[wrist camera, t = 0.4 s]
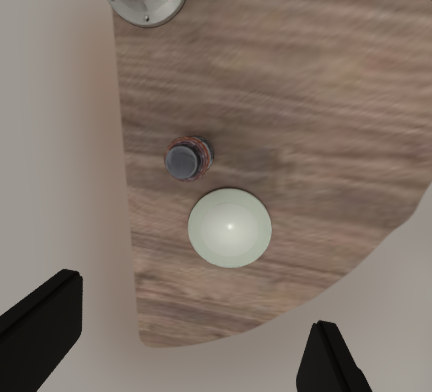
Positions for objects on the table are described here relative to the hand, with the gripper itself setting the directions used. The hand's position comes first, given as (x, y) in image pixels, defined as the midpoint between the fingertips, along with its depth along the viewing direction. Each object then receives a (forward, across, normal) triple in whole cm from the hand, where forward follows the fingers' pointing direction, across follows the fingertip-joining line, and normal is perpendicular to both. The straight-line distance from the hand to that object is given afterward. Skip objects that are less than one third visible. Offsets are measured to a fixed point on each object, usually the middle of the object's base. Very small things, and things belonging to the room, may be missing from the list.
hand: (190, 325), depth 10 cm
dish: (+32, -1, +8) cm, 33 cm away
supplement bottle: (+32, +6, -3) cm, 33 cm away
